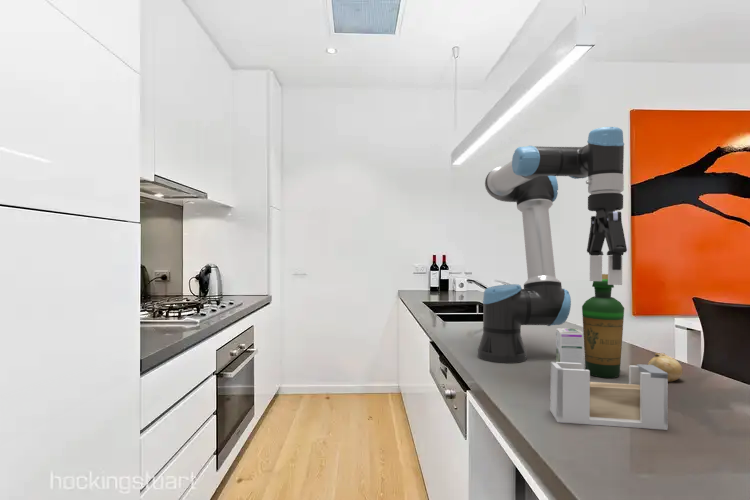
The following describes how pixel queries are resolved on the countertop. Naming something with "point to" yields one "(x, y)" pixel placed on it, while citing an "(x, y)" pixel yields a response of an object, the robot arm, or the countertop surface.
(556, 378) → the white open holder
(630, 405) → the tan wooden block
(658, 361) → the tan round lump
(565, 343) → the syrup box
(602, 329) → the bottle
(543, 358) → the countertop surface
